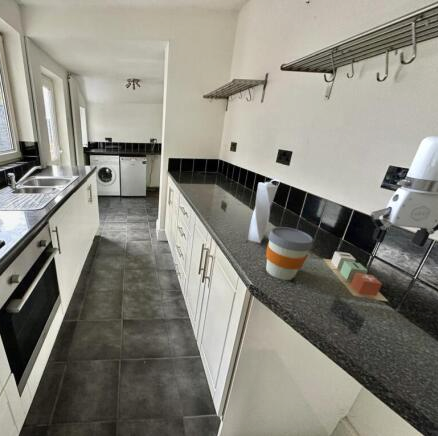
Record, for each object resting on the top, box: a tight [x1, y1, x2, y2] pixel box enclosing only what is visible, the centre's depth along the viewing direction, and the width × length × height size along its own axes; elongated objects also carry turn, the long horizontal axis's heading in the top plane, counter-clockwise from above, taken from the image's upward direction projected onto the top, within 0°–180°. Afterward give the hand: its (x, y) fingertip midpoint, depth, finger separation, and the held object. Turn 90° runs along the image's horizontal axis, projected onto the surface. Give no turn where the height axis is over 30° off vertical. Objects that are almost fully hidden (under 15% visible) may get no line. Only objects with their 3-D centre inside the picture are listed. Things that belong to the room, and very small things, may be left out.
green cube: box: [340, 261, 369, 280], centre depth 78 cm, size 5×5×5 cm
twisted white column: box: [247, 178, 281, 244], centre depth 100 cm, size 8×8×28 cm
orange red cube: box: [351, 273, 383, 296], centre depth 72 cm, size 5×5×5 cm
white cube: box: [331, 251, 357, 269], centre depth 85 cm, size 5×5×5 cm
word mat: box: [322, 258, 390, 303], centre depth 79 cm, size 9×22×1 cm, turn 166°
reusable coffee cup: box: [265, 226, 314, 281], centre depth 79 cm, size 13×13×15 cm
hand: (396, 242), depth 68 cm, fingers open, 9 cm apart
